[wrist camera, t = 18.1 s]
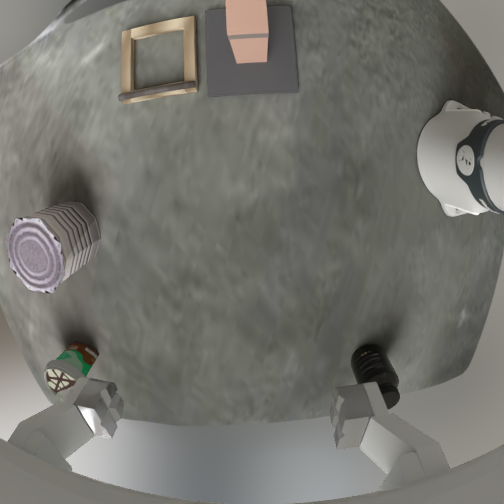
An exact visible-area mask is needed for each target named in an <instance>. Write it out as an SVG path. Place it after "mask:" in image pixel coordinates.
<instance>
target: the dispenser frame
mask: <svg viewBox="0 0 504 504" xmlns="http://www.w3.org/2000/svg"><path fill="white" fill-rule="evenodd" d="M179 30H184V81H183V82H176V83H170V84H164V85H159V86H154V87H148V88H144V89H139V90H135V85H134V55H135V40H137V39H141V38H146V37H150V36H154V35H159V34H163V33H168V32H174V31H179ZM193 92H198V77H197V43H196V18H195V17H194V16H189V17H183V18H178V19H173V20H168V21H163V22H158V23H154V24H149V25H145V26H141V27H138V28H134V29H130V30H127V31H123V32H122V51H121V94H120V95H119V96H118V99H119V101H121V103H123V104H129V103H134V102H139V101H144V100H149V99H154V98H160V97H166V96H172V95H178V94H185V93H193Z"/></svg>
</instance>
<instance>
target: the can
mask: <svg viewBox="0 0 504 504" xmlns="http://www.w3.org/2000/svg"><path fill="white" fill-rule="evenodd" d="M5 240H6V246H7V251H8V257H9V261H10V266H11V269H12V270H13V271H14V272H15V274H16V275H17V276H18V277H19V278H20V279H21V281H22V282H23V283H24V284H25V285H26V286H27V287H28V289H29V290H33V291H39V292H45V293H51V294H52V293H53V292H54V290H55V289H56V288H57V286H58V285H59V284H60V283H62V282H63V281H64V280H65V279H67V278H68V277H69V276H70V275H72V274H73V273H74V272H75V271H77V270H78V269H79V268H81V267H82V266H83V265H85V264H86V263H87V262H89V261H90V260H91V259H92V258H94V257H95V256H96V254H97V250H98V247H99V243H100V240H101V236H100V232H99V228H98V224H97V220H96V217H95V216H94V215H93V214H92V213H91V212H90V211H89V210H88V209H87V208H86V207H85V206H84V204H83V203H77V202H70V201H65V202H62V203H60V204H57V205H54V206H51V207H49V208H46V209H44V210H41V211H39V212H36V213H34V214H31V215H29V216H26V217H24V218H16V220H15V222H14V223H13V225H12V227H11V229H10V231H9V233H8V235H7V237H6V239H5Z"/></svg>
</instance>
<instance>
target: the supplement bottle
mask: <svg viewBox="0 0 504 504" xmlns="http://www.w3.org/2000/svg"><path fill="white" fill-rule="evenodd" d="M351 367H352V370H353V373H354V375H355V378H356V381H357V384H364V383H370V382H376V383H377V384H378V387H379V389H380V392H381V394H382V397H383V399H384V402H385V404H386V407H387V409H391V408H392V407H393V406H395V405H396V404H397V403H398V401H399V399H400V394H399V392H398V389H397V387H398V383H399V379H398V376H397V374H396V372H395V370H394V368H393V366H392V364H391V362H390V361H389V359H388V357H387V355H386V353H385V351H384V350H383V348H382V347H380V346H378V345H366V346H364V347H362V348H360V349H359V350H357V351H356V352H355V354H354V355H353V357H352V359H351Z"/></svg>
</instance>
